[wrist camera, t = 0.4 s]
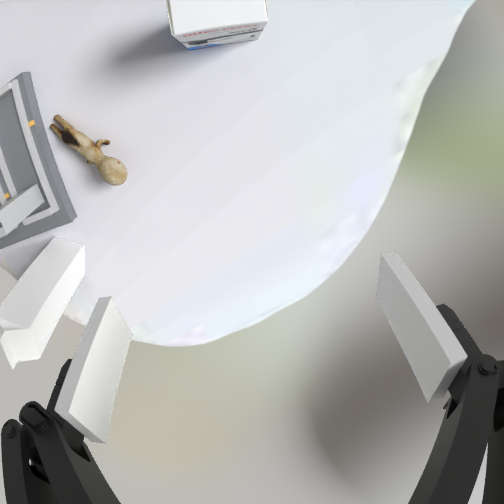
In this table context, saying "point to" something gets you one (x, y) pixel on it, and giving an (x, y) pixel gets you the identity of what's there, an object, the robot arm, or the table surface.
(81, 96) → the table surface
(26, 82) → the grey flat tray
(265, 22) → the ink box
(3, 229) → the fader
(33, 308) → the milk
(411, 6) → the table surface
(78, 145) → the figurine
